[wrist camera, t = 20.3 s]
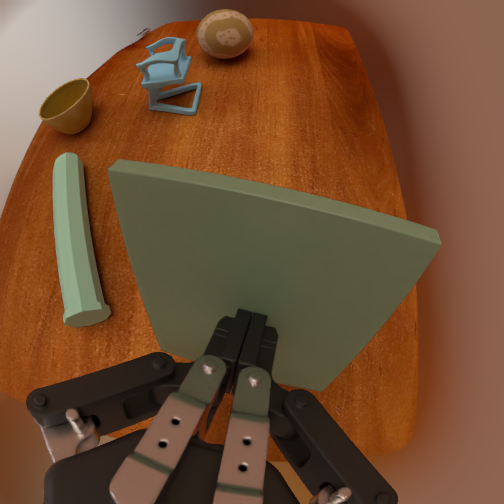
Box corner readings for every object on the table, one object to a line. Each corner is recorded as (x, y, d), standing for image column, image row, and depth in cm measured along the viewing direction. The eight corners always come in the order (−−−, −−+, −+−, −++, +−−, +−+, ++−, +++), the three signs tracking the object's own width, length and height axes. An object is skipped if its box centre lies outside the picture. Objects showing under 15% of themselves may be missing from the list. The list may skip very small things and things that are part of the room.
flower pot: (90, 98, 45) (76, 72, 38) (112, 115, 42) (97, 86, 36) (50, 132, 42) (33, 108, 36) (67, 154, 40) (47, 127, 33)
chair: (156, 90, 44) (140, 36, 33) (202, 86, 44) (192, 28, 33) (146, 119, 41) (123, 62, 30) (196, 115, 41) (182, 53, 30)
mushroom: (238, 18, 48) (259, 3, 36) (240, 60, 54) (262, 56, 42) (190, 21, 46) (198, 4, 34) (192, 64, 52) (201, 58, 40)
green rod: (47, 149, 33) (57, 317, 25) (84, 141, 36) (108, 304, 27) (53, 176, 38) (70, 330, 29) (86, 168, 40) (113, 319, 32)
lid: (118, 158, 11) (106, 169, 10) (437, 229, 9) (443, 244, 9) (164, 341, 22) (160, 350, 21) (323, 381, 20) (321, 391, 20)
